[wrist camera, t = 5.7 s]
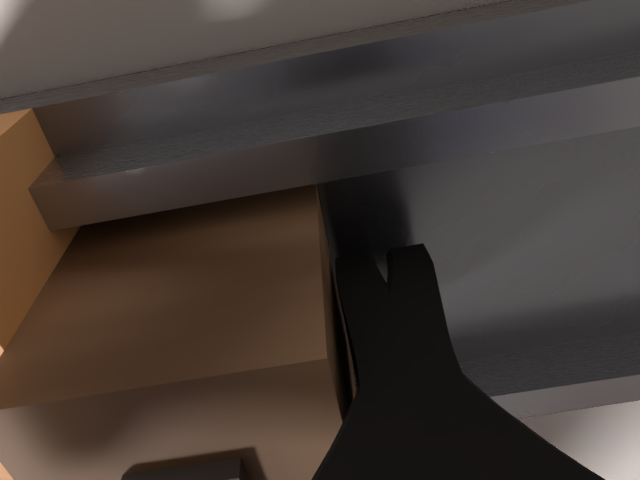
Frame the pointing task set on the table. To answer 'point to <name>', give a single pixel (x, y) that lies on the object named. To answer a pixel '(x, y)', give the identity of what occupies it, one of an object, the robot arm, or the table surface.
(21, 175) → the block
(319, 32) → the table surface
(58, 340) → the sliding block
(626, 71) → the gray metal tray
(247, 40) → the table surface
